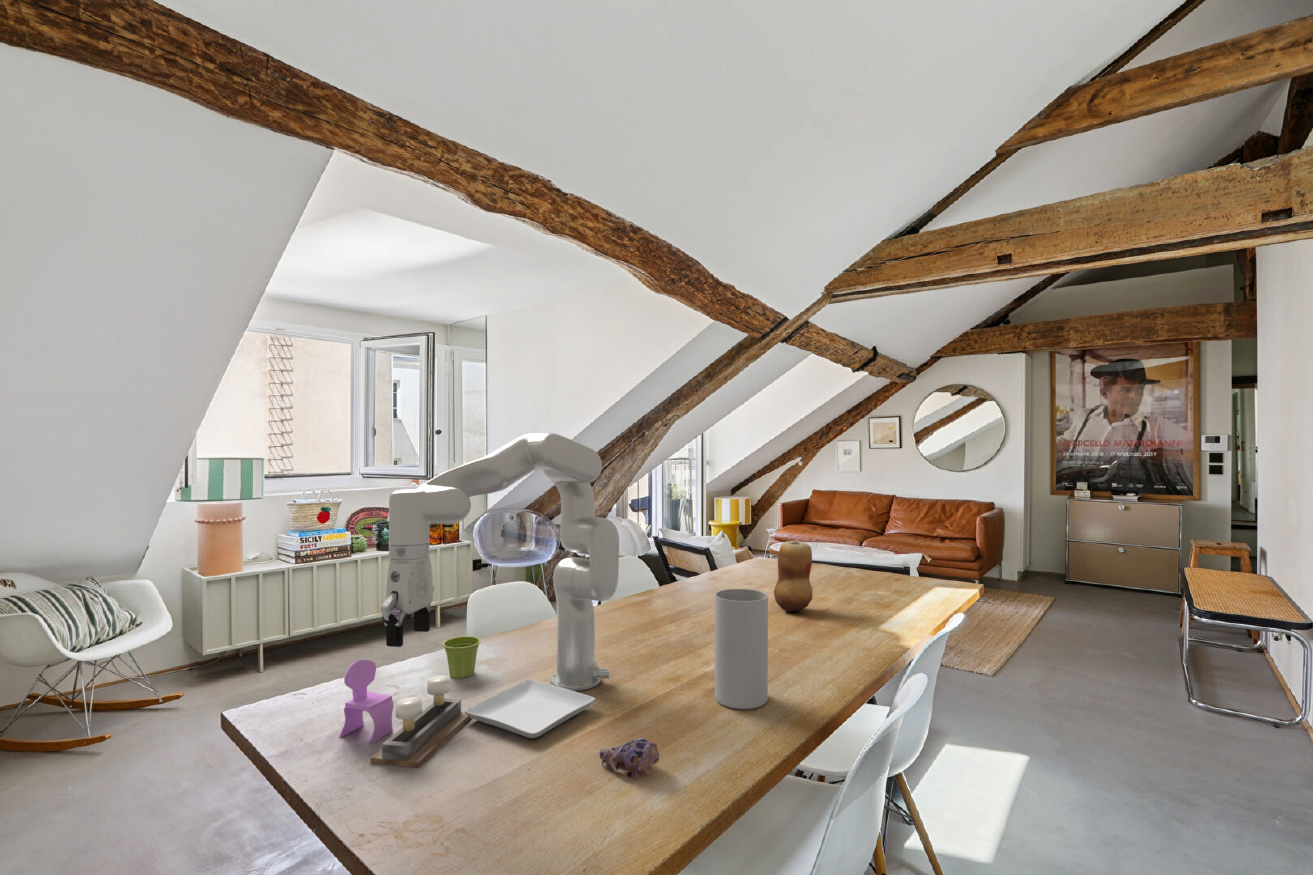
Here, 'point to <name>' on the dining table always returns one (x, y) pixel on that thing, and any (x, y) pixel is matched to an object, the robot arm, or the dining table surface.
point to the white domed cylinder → (408, 711)
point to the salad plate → (530, 708)
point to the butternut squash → (794, 576)
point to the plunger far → (438, 688)
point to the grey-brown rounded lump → (631, 757)
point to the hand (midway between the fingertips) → (408, 638)
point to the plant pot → (461, 655)
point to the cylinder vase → (741, 648)
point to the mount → (422, 736)
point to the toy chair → (366, 701)
